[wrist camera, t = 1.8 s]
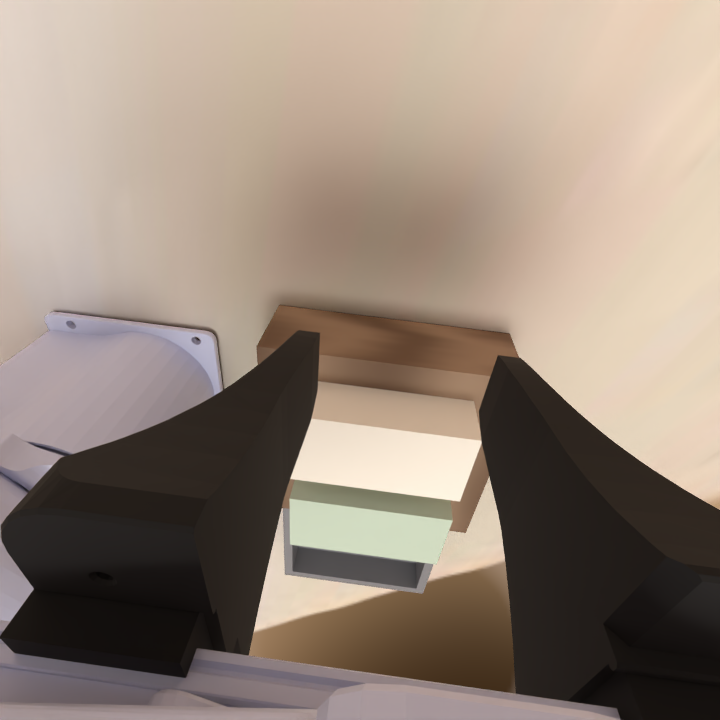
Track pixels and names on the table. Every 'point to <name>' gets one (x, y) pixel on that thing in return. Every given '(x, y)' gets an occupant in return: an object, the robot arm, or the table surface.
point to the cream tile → (390, 441)
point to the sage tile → (368, 521)
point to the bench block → (400, 367)
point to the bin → (353, 566)
